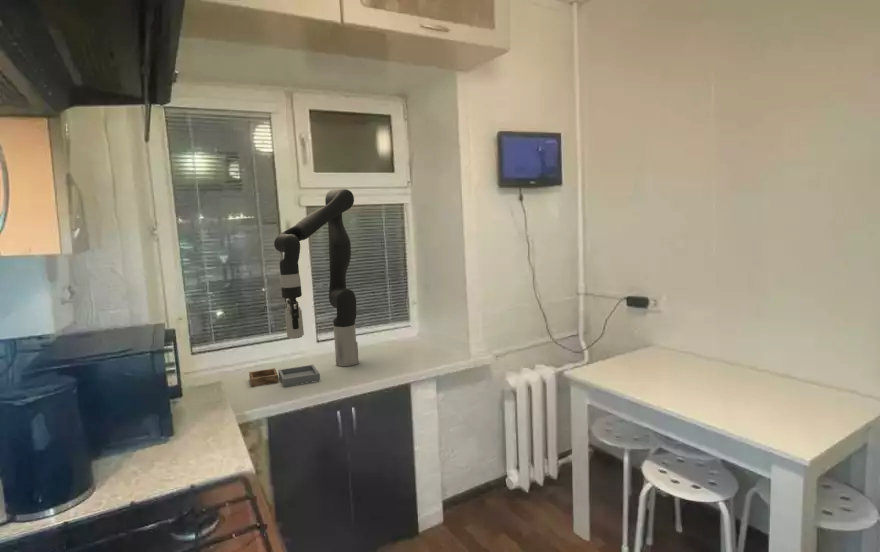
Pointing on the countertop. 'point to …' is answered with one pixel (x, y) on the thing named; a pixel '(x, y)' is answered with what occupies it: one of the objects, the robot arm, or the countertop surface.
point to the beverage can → (289, 326)
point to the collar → (263, 377)
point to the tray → (298, 375)
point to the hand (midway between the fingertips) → (294, 327)
